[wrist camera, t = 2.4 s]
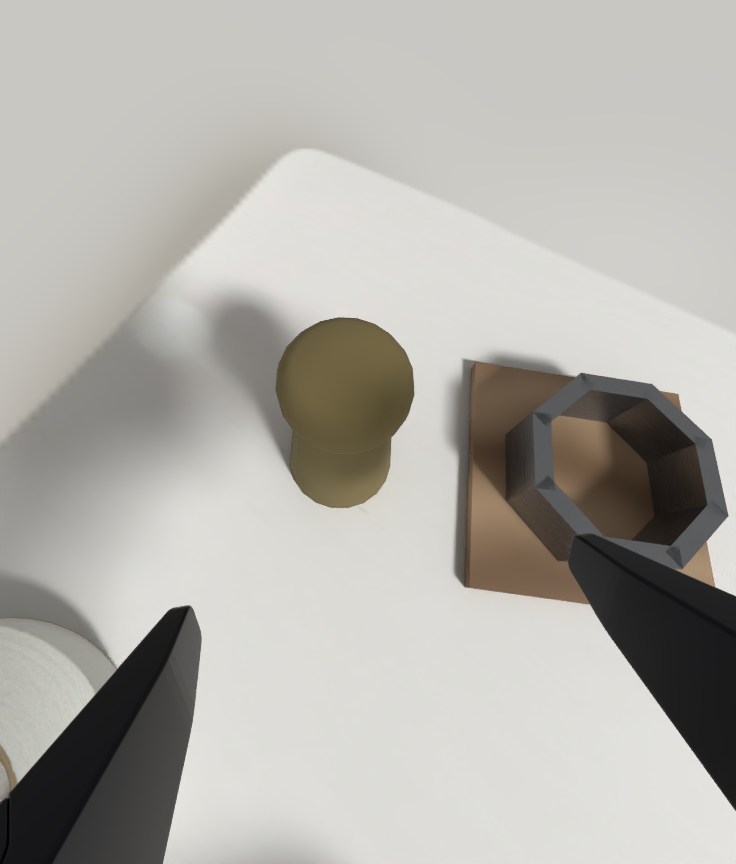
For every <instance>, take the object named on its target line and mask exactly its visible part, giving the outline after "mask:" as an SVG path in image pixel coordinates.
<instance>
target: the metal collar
mask: <svg viewBox="0 0 736 864" xmlns="http://www.w3.org/2000/svg"><path fill="white" fill-rule="evenodd" d="M559 415H560V416H566V417H573V418H579V419H586V420H592V421H599V422H605V423H607V424H608V425H609V426H610V427H611V428H612V429H613V430H614V431H615V432H616V433H617V434H618V435H619V436H620V437H621V438H622V439H623V440H624V441H625V442H626V443H627V444H628V445H629V446H630V447H631V448H632V449H633V450H634V451H635V452H636V453H637V454H638V455H639V456H640V457H641V458H642V459H643V460H644V461H645V462H646V463H647V469H648V476H649V483H650V490H651V497H652V504H653V510H654V517H653V518H652V519H651V520H650V521H649V522H648V523H647V524H646V525H645V526H644V527H643V528H642V529H641V530H640V531H639V533H638V534H637V535H636V536H635V537H634V538H633V539H632V540H625V539H618V538H612V537H605V536H604V535H603V534H602V533H601V532H600V531H599V530H598V529H597V528H596V527H595V526H594V524H593V523H592V522H591V521H590V520H589V519H588V518H587V517H586V516H585V515H584V514H583V513H582V511H581V510H580V509H579V508H578V507H577V506H576V505H575V504H574V503H573V502H572V501H571V499H570V498H569V497H568V496H567V495H566V494H565V493H564V492H563V491H562V490H561V489H560V488H559V486H558V485H557V484H556V483H555V481H554V462H553V443H552V425H551V422H552V421H553V420H554V419H555V418H557V417H558V416H559ZM505 436H506V502H507V503H508V504H509V505H510V506H511V508H512V509H513V510H514V511H515V512H516V513H517V514H518V516H519V517H520V518H521V519H522V520H523V521H524V523H525V524H526V525H527V526H528V527H529V528H530V529H531V531H532V532H533V533H534V534H535V535H536V536H537V537H538V539H539V540H540V541H541V542H542V543H543V544H544V546H545V547H546V548H547V549H548V550H549V551H550V552H551V554H552V555H553V556H554V557H555V558H556V559H557V561H563V562H568V557H569V552H570V547H571V542H572V539H573V537H574V536H576V535H580V534H585V533H592V534H595V535H597V536H600V537H602V538H604V539H606V540H609V541H611V542H613V543H615V544H618V545H620V546H622V547H625V548H627V549H629V550H631V551H634V552H636V553H638V554H641V555H643V556H645V557H647V558H650V559H652V560H654V561H656V562H659V563H661V564H663V565H666V566H668V567H670V568H672V569H675V570H680V569H683V568H684V567H685V566H686V565H687V563H688V562H689V561H690V560H691V559H692V558H693V556H694V555H695V554H696V553H697V552H698V551H699V549H700V548H701V547H702V546H703V545H704V544H705V542H706V541H707V540H708V539H709V538H710V537H711V535H712V534H713V533H714V532H715V531H716V530H717V528H718V527H719V526H720V525H721V524H722V523H723V521H724V520H725V519H726V518H727V517H728V516H729V515H728V512H727V507H726V503H725V498H724V494H723V489H722V484H721V480H720V475H719V471H718V466H717V461H716V457H715V452H714V448H713V443H712V439H711V438H709V437H708V436H707V435H706V434H705V433H704V432H703V431H702V430H701V429H700V428H699V427H698V426H697V425H695V424H694V423H693V422H692V421H691V420H690V419H689V418H688V417H687V416H686V415H685V414H684V413H683V412H681V411H680V410H679V409H678V408H677V407H676V406H675V405H674V404H673V403H672V402H671V401H670V400H669V399H667V398H666V397H665V396H664V395H663V394H662V393H661V392H660V391H659V390H658V389H657V388H656V387H655V386H653V384H647V383H641V382H635V381H629V380H622V379H616V378H610V377H604V376H597V375H591V374H585V373H580V374H579V375H578V376H577V377H576V378H574V379H573V380H572V381H571V382H570V383H568V384H567V385H566V386H565V387H563V388H562V389H561V390H560V391H558V392H557V393H556V394H555V395H553V396H552V397H551V398H550V399H548V400H547V401H546V402H545V403H543V404H542V405H541V406H540V407H538V408H537V409H536V410H535V411H533V412H532V413H530V414H529V415H528V416H527V417H526V418H524V419H523V420H522V421H521V422H520V423H519V424H517V425H516V426H515V427H514V428H513V429H511V430H510V431H509V432H508V433H507V434H506V435H505Z"/></svg>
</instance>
